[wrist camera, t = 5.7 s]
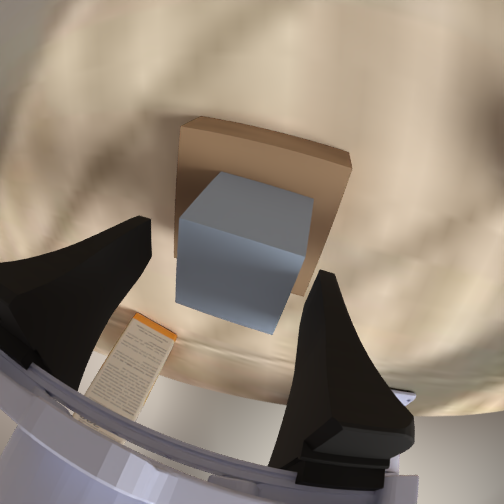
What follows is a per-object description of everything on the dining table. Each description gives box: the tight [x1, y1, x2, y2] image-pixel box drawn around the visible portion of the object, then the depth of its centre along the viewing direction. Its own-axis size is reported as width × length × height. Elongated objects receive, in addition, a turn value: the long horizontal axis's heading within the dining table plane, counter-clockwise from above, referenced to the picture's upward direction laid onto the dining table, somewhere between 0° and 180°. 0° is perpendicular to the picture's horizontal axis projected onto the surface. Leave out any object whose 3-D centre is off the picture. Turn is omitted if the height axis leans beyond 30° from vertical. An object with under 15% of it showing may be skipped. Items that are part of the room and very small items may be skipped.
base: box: [174, 116, 352, 297], centre depth 16 cm, size 8×8×3 cm
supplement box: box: [72, 313, 177, 445], centre depth 24 cm, size 8×5×13 cm, turn 154°
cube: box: [175, 172, 314, 335], centre depth 13 cm, size 4×4×4 cm
